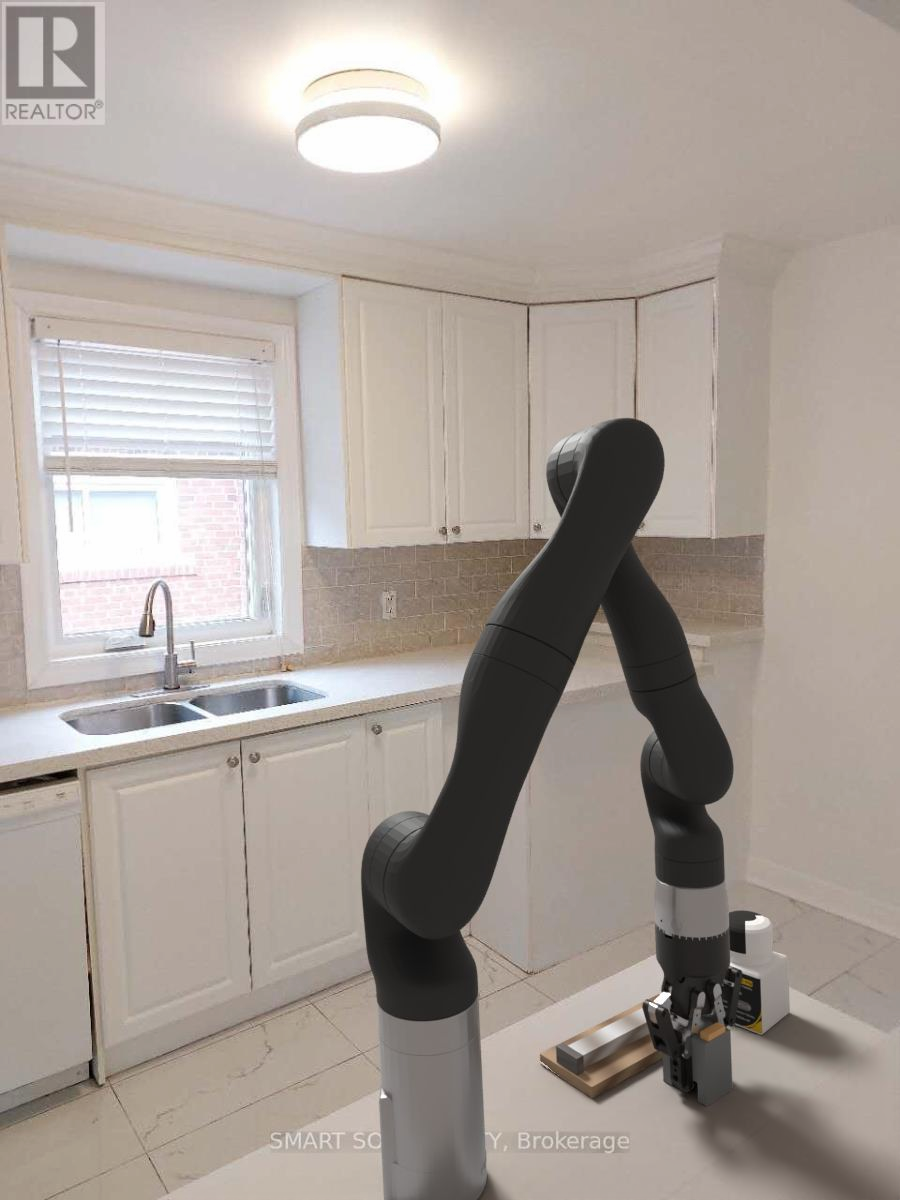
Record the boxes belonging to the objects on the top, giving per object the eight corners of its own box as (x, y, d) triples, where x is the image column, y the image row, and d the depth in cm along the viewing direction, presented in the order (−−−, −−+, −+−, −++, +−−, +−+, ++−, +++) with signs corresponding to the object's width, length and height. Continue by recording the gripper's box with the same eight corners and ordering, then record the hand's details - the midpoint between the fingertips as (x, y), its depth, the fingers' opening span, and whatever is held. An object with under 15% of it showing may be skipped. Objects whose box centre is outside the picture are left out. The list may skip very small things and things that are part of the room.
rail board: (592, 1098, 88) (590, 1070, 88) (540, 1064, 95) (539, 1037, 94) (712, 1029, 100) (711, 1004, 100) (659, 1003, 106) (658, 979, 106)
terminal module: (707, 1106, 86) (704, 1038, 86) (663, 1080, 90) (660, 1016, 90) (732, 1089, 88) (730, 1024, 88) (688, 1065, 93) (686, 1003, 93)
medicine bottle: (706, 1014, 103) (703, 917, 103) (736, 993, 108) (733, 900, 107) (761, 1036, 98) (758, 934, 97) (791, 1013, 103) (787, 915, 102)
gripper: (704, 891, 96) (709, 1039, 97) (617, 927, 88) (624, 1089, 88) (763, 911, 90) (768, 1068, 91) (675, 951, 82) (682, 1125, 82)
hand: (697, 1077), depth 89 cm, fingers closed on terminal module, 4 cm apart
